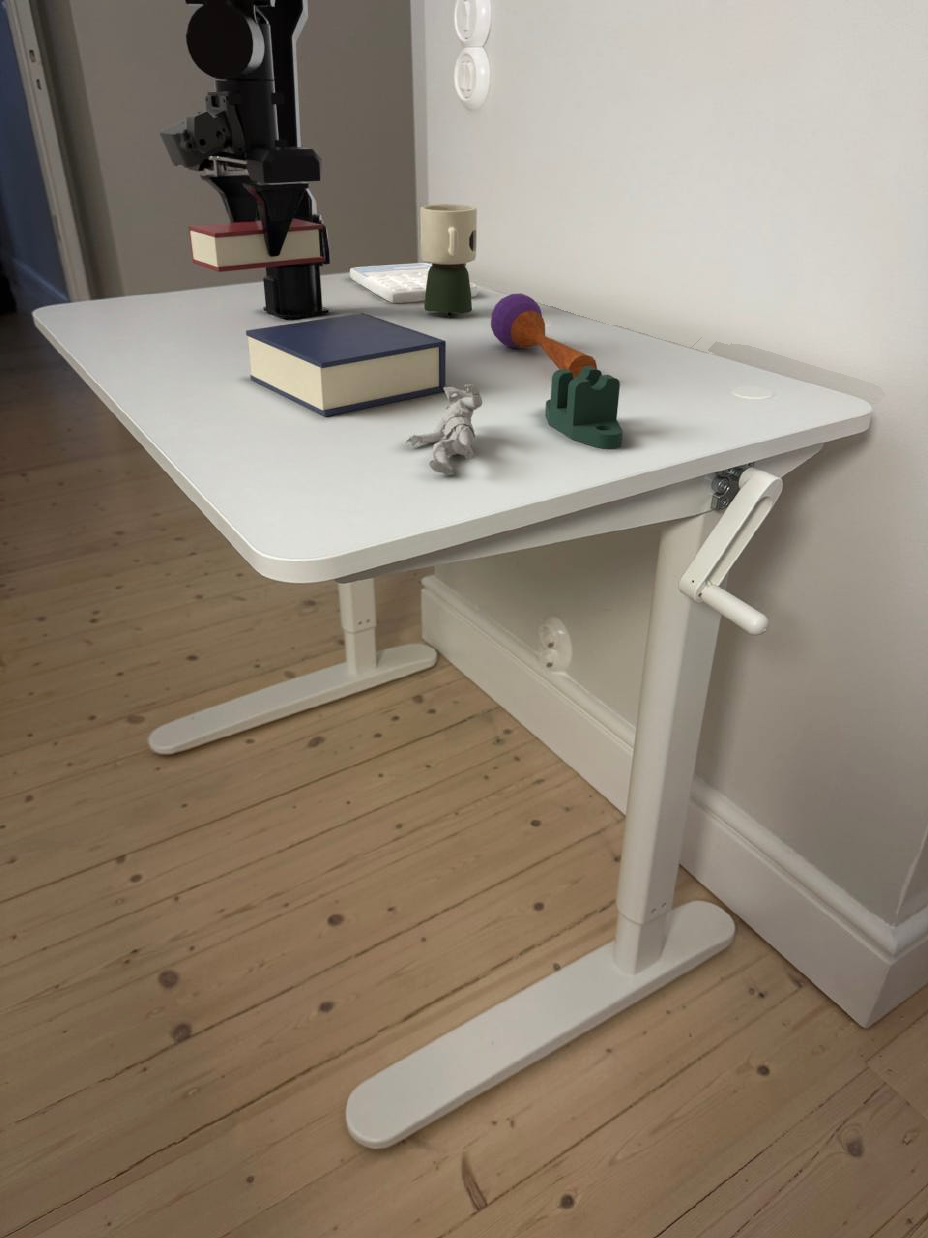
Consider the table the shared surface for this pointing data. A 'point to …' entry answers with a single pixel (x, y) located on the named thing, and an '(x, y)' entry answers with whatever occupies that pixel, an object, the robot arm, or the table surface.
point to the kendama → (533, 332)
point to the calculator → (397, 281)
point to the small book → (252, 245)
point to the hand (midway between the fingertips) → (259, 251)
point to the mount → (585, 407)
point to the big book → (347, 362)
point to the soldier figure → (453, 429)
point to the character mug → (448, 255)
